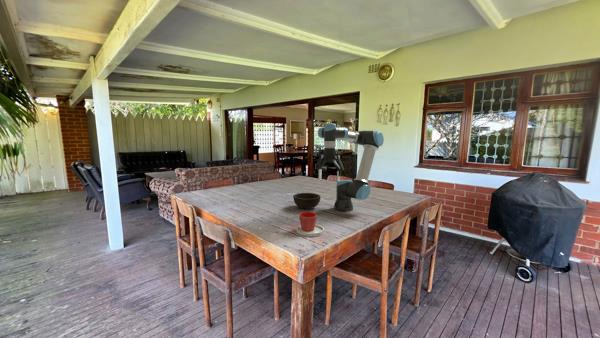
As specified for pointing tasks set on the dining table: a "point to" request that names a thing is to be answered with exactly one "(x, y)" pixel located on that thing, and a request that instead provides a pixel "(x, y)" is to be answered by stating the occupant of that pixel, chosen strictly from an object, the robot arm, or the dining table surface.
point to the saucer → (316, 232)
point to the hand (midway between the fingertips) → (329, 180)
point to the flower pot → (307, 221)
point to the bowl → (306, 200)
